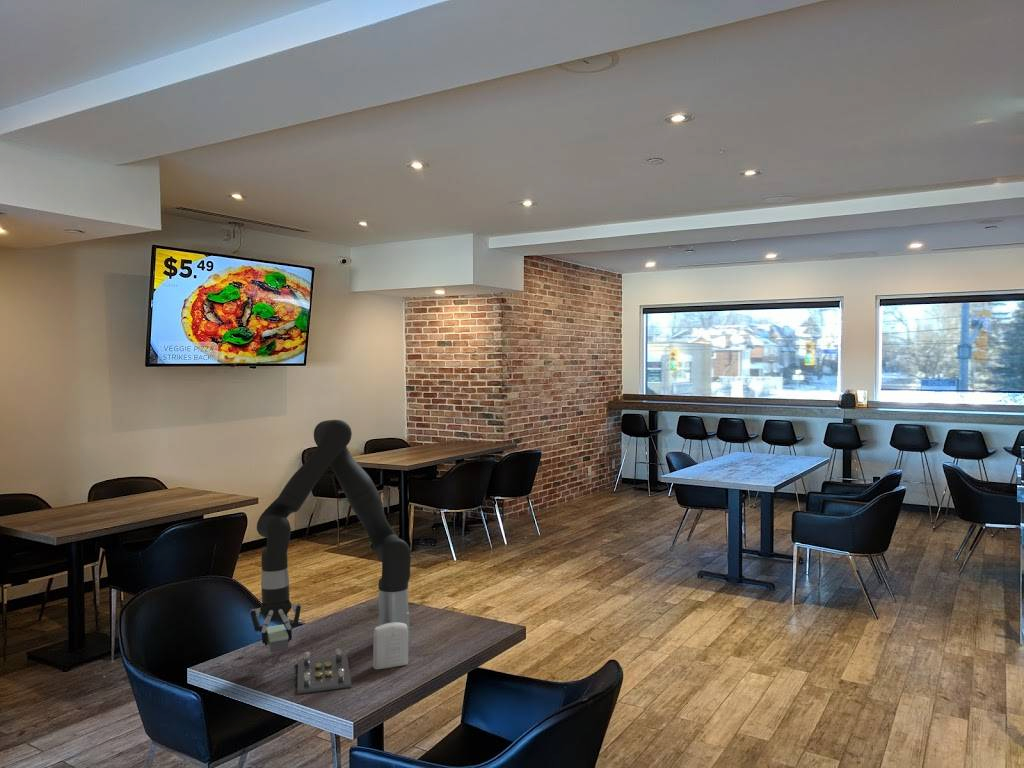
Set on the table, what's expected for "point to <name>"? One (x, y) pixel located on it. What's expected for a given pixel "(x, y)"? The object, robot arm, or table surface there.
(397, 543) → the robot arm
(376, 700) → the table surface
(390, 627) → the photo printer
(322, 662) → the plate
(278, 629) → the grey green block
